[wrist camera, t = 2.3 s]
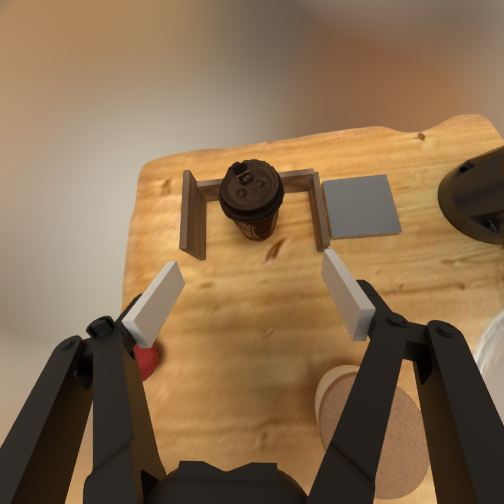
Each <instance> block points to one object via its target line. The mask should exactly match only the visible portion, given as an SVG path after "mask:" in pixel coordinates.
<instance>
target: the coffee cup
mask: <svg viewBox="0 0 504 504" xmlns="http://www.w3.org/2000/svg"><path fill="white" fill-rule="evenodd" d="M283 197H284V187H283V184H282V180H281V178H280V175H279V174H278V173H277V171H276V170H275V169H274V167H273V166H270V164H268V163H266V162H265V161H259V160H256V159H253V160H252V159H251V160H250V161H249V160H244V161H243V162H242V163H239V162H238V161H237V162H236V163H233V165H232V166H231V167H229V168H228V171H227V173H226V175H225V177H224V179H222V182H221V186H220V190H219V201H220V205H221V207H222V210H223V212H224V213H225V215H226V216H227V217H228V218H229V219H232V220H234V221H235V223H236V225H237V226H238V227H239V228H240V229H241V230H242V232H243V234H244V235H245V236H246V237H247V238H249V239H250V240H253V241H256V242H258V241H263V240H265V239H267V238H268V237H269V236H270V235H271V234H272V233H273V231H274V228H275V224H276V221H277V218H278V211H279V208H280V205H281V204H282V202H283Z"/></svg>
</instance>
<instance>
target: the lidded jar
mask: <svg viewBox="0 0 504 504" xmlns="http://www.w3.org/2000/svg"><path fill="white" fill-rule="evenodd" d="M359 368H360V366H355V365H341V366H337V367H335V368H333V369H331V370H329V371H328V372H327V373H326V374H325V375H324V376H323V377H322V379H321V380H320V382H319V384H318V387H317V390H316V395H315V413H316V419H317V424H318V428H319V431H320V436H321V439H322V443H323V446H324V449H325V451H327V448H328V446H329V443H330V441H331V439H332V437H333V434H334V432H335V429H336V427H337V424H338V421H339V419H340V416H341V414H342V411H343V409H344V406H345V404H346V401H347V398H348V396H349V393H350V391H351V388H352V386H353V383H354V381H355V378H356V376H357V373H358V370H359ZM429 463H430V458H429V453H428V447H427V441H426V436H425V430H424V424H423V419H422V414H421V412H420V411H419V409H418V408H417V406H416V404H415V403H414V402H413V401H412V399H411V398H410V397H409V396H408V395H407V394H406V393H405V392H404V391H403V390H402V389H401V388H399V387H398V386H397V385H396V390H395V394H394V398H393V403H392V407H391V412H390V416H389V420H388V425H387V429H386V433H385V438H384V442H383V447H382V451H381V455H380V460H379V464H378V469H377V473H376V478H375V486H376V488H375V495H374V498H378V499H397V498H400V497H403V496H405V495H407V494H410V493H411V492H412V491H413V490H415V489H416V488H417V487H418V486H419V484H420V483H421V482H422V481H423V479H424V477H425V475H426V473H427V470H428V467H429Z"/></svg>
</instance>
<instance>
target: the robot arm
mask: <svg viewBox="0 0 504 504" xmlns="http://www.w3.org/2000/svg"><path fill="white" fill-rule="evenodd" d="M439 202H440V205H441V208H442V210H443V212H444V214H445V215H446V217H447V218H448V219H449V221H450V222H451V223H452V224H453V225H454V226H455V227H457V228H458V229H459V230H460V231H462V232H463V233H465V234H467V235H469V236H471V237H473V238H475V239H477V240H480V241H484V242H487V243H493V244H504V146H501V147H499V148H496V149H494V150H491V151H489V152H486V153H484V154H481V155H478V156H476V157H473V158H471V159H469V160H467V161H465V162H464V163H462V164H461V165H459V166H458V167H456V168H455V169H454V170H452V171H451V172H449V173H448V174H447V175H446V176H445V178H444V179H443V181H442V182H441V185H440V188H439ZM322 277H323V279H324V282H325V284H326V286H327V288H328V290H329V292H330V294H331V296H332V299H333V301H334V303H335V305H336V307H337V309H338V311H339V313H340V316H341V318H342V320H343V322H344V324H345V326H346V328H347V330H348V332H349V335H350V337H351V339H352V341H366V338H367V335H368V336H369V338H370V342H369V345H368V347H367V350H366V353H365V355H364V358H363V360H362V363H361V365H360V368H359V370H358V373H357V376H356V378H355V381H354V383H353V386H352V388H351V391H350V393H349V396H348V398H347V401H346V404H345V406H344V409H343V411H342V414H341V416H340V419H339V421H338V424H337V427H336V429H335V432H334V434H333V437H332V439H331V441H330V443H329V446H328V448H327V451H326V453H325V455H324V458H323V461H322V463H321V466H320V468H319V471H318V473H317V476H316V478H315V481H314V483H313V486H312V488H311V491H310V494H309V496H307V494H306V493H305V492H304V490H303V489H302V487H301V486H300V485H299V484H298V483H297V482H296V481H295V480H294V479H293V478H292V477H291V476H289V475H288V474H286V473H285V472H283V471H281V470H279V469H277V463H254V462H252V463H249V464H247V465H244V466H241V467H239V468H236V469H233V470H231V471H228V472H225V471H222V470H220V469H218V468H216V467H214V466H212V465H210V464H207V463H205V462H203V461H180V463H179V467H178V469H176V470H174V471H172V472H170V473H169V474H168V475H166V472H165V469H164V467H163V465H162V463H161V460H160V458H159V454H158V450H157V445H156V441H155V436H154V432H153V427H152V423H151V419H150V414H149V410H148V405H147V401H146V396H145V392H144V387H143V383H142V379H141V374H140V370H139V365H138V361H137V356H136V352H135V350H134V349H133V348H134V346H135V345H136V343H137V344H138V346H139V347H140V348H151V347H152V345H153V343H154V341H155V339H156V338H157V336H158V334H159V332H160V330H161V328H162V326H163V324H164V323H165V321H166V319H167V317H168V315H169V313H170V311H171V309H172V308H173V306H174V304H175V302H176V300H177V298H178V296H179V295H180V293H181V291H182V289H183V287H184V285H185V282H184V280H183V277H182V274H181V272H180V269H179V266H178V264H177V261H168V262H167V264H166V265H165V266H164V267H163V269H162V270H161V271H160V273H159V274H158V275H157V276H156V278H155V279H154V280H153V281H152V283H151V284H150V285H149V287H148V288H147V289H146V290H145V292H144V293H143V294H139V295H138V296H137V297H135V298H134V299H133V301H132V302H131V303H130V305H128V307H127V308H126V309H125V310H124V312H123V313H122V314H121V315H120V316H119V318H118V319H117V320H116V321H115V322H114V321H113V319H112V318H111V317H110V316H103V317H100V318H98V319H96V320H94V321H93V322H92V323H91V324H89V326H88V327H87V329H86V332H87V333H88V334H89V335H90V337H91V338H88V339H85V340H83V339H82V338H81V337H80V336H77V335H76V336H72V337H69V338H68V339H65V340H64V341H62V342H61V343H60V344H59V345H58V346H57V347H56V348H55V349H54V351H53V352H52V354H51V356H50V358H49V360H48V362H47V363H46V365H45V367H44V369H43V371H42V373H41V374H40V376H39V378H38V380H37V382H36V384H35V386H34V387H33V389H32V391H31V393H30V395H29V397H28V398H27V400H26V402H25V404H24V406H23V408H22V409H21V412H20V413H19V415H18V417H17V419H16V420H15V422H14V424H13V426H12V428H11V430H10V431H9V433H8V435H7V437H6V439H5V441H4V443H3V444H2V446H1V448H0V504H65V501H66V497H67V493H68V489H69V486H70V482H71V478H72V475H73V471H74V467H75V463H76V460H77V456H78V453H79V449H80V445H81V442H82V438H83V434H84V431H85V427H86V423H87V419H88V416H89V412H90V408H91V405H92V401H93V470H92V473H91V474H90V475H89V476H88V477H87V478H86V480H85V483H84V489H83V504H373V501H374V495H375V488H376V486H375V478H376V473H377V469H378V464H379V460H380V455H381V451H382V447H383V442H384V438H385V433H386V429H387V425H388V420H389V416H390V412H391V407H392V403H393V398H394V394H395V390H396V385H397V381H398V376H399V372H400V368H401V363H402V359H406V360H410V361H412V362H413V367H414V373H415V379H416V384H417V390H418V396H419V402H420V407H421V413H422V419H423V424H424V430H425V436H426V441H427V447H428V453H429V458H430V464H431V470H432V475H433V481H434V487H435V493H436V498H437V504H504V426H503V423H502V421H501V419H500V416H499V414H498V412H497V410H496V407H495V405H494V403H493V401H492V398H491V396H490V394H489V392H488V389H487V387H486V385H485V383H484V380H483V378H482V376H481V374H480V371H479V369H478V367H477V365H476V363H475V360H474V358H473V356H472V354H471V351H470V349H469V347H468V345H467V342H466V340H465V338H464V336H463V334H462V333H461V331H459V330H458V329H457V328H456V327H454V326H453V325H451V324H449V323H446V322H443V321H439V320H432V321H430V322H428V324H427V325H421V324H416V323H411V322H408V321H407V320H406V319H405V318H404V317H403V316H401V315H399V314H397V313H394V312H392V311H391V309H390V308H389V307H388V306H387V304H386V303H385V302H384V301H383V299H382V298H381V297H380V296H379V295H378V293H377V292H376V291H375V289H374V288H373V287H372V285H371V284H369V283H368V282H366V281H365V280H355V279H354V277H353V276H352V275H351V273H350V272H349V270H348V269H347V267H346V266H345V265H344V263H343V262H342V260H341V259H340V257H339V256H338V255H337V253H336V252H335V250H334V249H324V254H323V265H322Z"/></svg>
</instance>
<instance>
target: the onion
mask: <svg viewBox="0 0 504 504" xmlns="http://www.w3.org/2000/svg"><path fill="white" fill-rule="evenodd" d="M133 349H134V350H135V352H136V356H137V361H138V365H139V370H140V374H141V379H142V382H143V381H145V380H146V379H147V378H148V377H149V376H150V375H151V374H152V373H153V372H154V370H155V368H156V366H157V364H158V357H159V356H158V351H157V349H156V347H155V346H154V345H152V347H151V348H140V347H139V346H138V344H137V343H136V345H135V346H134V348H133Z"/></svg>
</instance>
